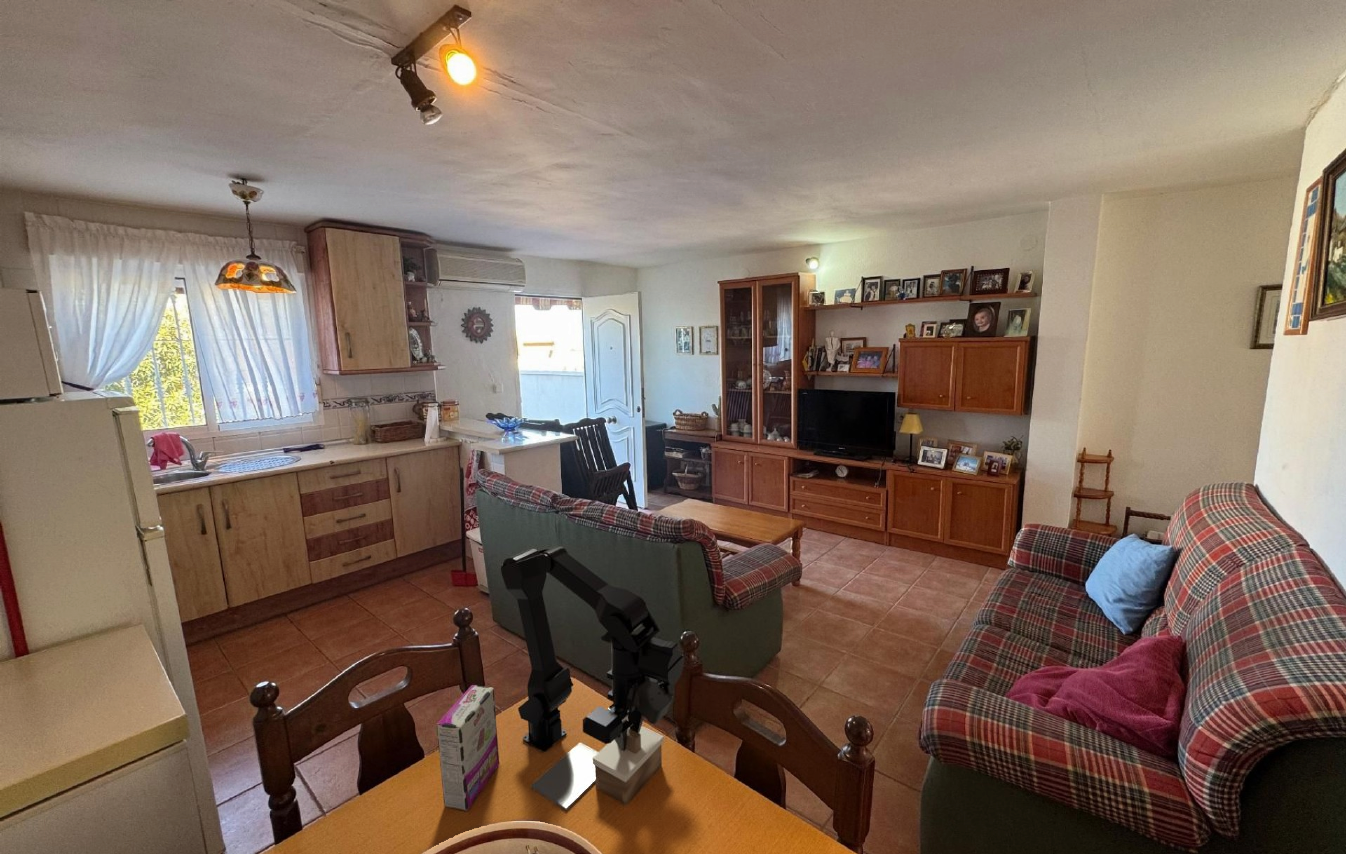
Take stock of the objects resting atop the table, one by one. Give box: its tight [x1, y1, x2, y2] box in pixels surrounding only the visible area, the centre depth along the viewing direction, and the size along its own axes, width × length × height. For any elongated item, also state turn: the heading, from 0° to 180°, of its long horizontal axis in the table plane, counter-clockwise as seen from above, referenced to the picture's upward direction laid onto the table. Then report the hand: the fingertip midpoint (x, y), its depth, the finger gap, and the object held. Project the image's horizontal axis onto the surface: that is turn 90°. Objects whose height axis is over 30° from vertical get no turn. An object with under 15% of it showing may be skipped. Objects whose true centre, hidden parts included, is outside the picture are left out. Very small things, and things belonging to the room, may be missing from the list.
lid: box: [593, 725, 665, 782], centre depth 100 cm, size 12×8×5 cm, turn 146°
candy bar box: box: [436, 684, 500, 812], centre depth 98 cm, size 11×5×16 cm, turn 168°
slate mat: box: [530, 742, 599, 812], centre depth 101 cm, size 9×13×1 cm
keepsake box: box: [595, 744, 663, 806], centre depth 101 cm, size 11×7×5 cm, turn 146°
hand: (628, 743), depth 100 cm, fingers open, 3 cm apart
